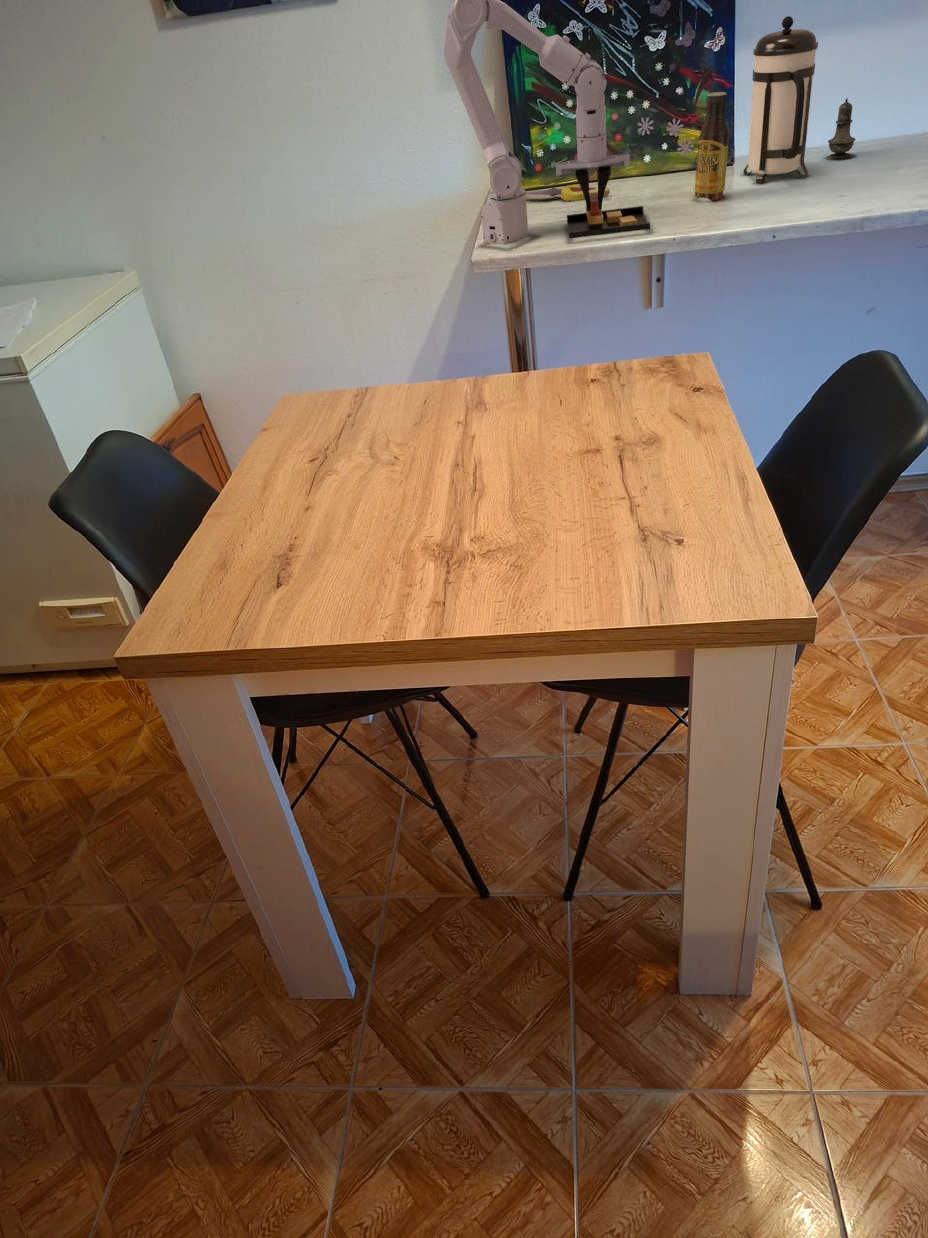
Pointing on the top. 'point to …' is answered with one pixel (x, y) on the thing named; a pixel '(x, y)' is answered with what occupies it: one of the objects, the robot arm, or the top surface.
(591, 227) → the brush
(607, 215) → the cracker piece
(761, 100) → the coffee press
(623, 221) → the cracker piece
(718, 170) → the brown glass bottle
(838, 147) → the salt shaker
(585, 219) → the tray
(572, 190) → the yellow scissors
